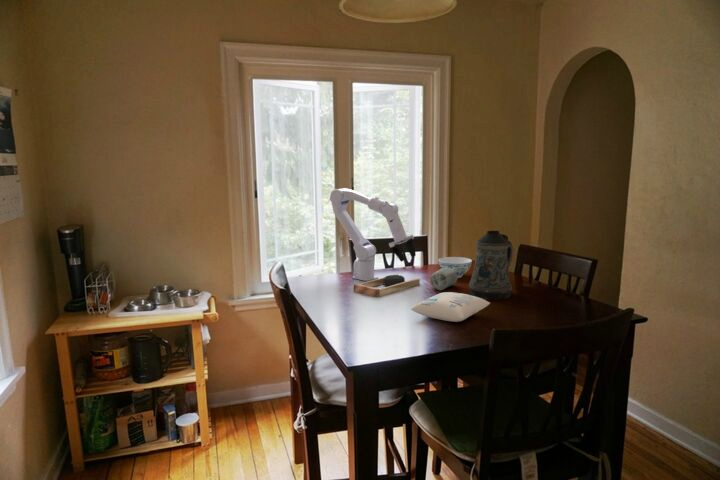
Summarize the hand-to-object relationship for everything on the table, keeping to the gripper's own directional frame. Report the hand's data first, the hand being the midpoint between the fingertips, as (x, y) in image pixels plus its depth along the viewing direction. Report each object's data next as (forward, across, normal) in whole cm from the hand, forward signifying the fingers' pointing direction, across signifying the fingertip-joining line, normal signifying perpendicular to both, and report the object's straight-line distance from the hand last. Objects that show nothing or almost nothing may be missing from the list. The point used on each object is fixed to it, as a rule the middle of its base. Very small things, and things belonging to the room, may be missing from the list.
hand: (408, 258), depth 198 cm
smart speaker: (+9, -9, +5) cm, 14 cm away
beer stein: (+24, +6, -29) cm, 38 cm away
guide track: (+8, -14, +5) cm, 17 cm away
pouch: (+22, -28, -34) cm, 50 cm away
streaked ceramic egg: (+17, +2, -11) cm, 20 cm away
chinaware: (+16, +22, -3) cm, 27 cm away
